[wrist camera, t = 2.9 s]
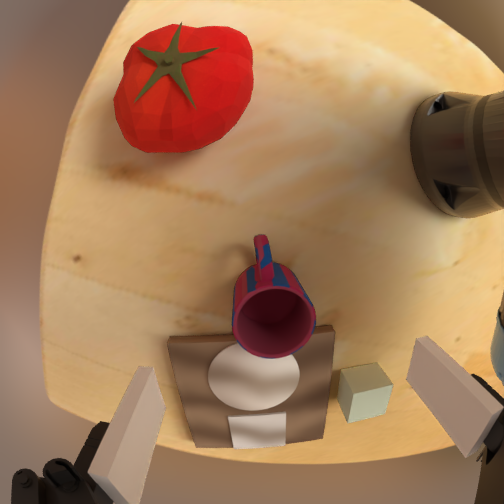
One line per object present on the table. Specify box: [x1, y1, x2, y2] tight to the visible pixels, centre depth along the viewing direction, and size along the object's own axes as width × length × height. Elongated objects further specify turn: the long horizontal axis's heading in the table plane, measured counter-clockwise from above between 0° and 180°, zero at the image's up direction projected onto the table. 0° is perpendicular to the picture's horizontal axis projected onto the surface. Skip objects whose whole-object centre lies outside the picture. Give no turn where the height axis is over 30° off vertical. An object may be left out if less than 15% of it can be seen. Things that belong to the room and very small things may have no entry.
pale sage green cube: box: [337, 362, 393, 423], centre depth 29 cm, size 5×5×5 cm
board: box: [167, 325, 335, 449], centre depth 30 cm, size 18×18×2 cm
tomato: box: [113, 22, 254, 153], centre depth 19 cm, size 11×13×10 cm
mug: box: [232, 235, 316, 359], centre depth 25 cm, size 7×10×7 cm
